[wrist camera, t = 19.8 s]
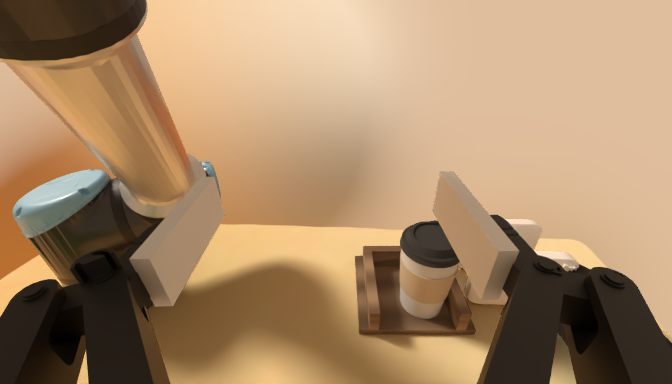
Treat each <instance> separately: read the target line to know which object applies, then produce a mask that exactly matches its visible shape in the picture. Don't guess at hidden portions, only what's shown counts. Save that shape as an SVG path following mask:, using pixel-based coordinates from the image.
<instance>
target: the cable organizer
mask: <svg viewBox="0 0 672 384" xmlns="http://www.w3.org/2000/svg"><path fill="white" fill-rule="evenodd" d="M505 220H506V221H508V222H509V224H510V225H511V226H512V227H513V228H514V230H516V231H517V232H518V234H519V236H521V237H522V238H523V239H524V240H525V241H526V242H527V244H528V245H529V246H530V247H531V248H532V249H533V250H534V248H535V246H536V244H537V242H538V240H539V237H540V235H541V232H542V228H541V227H540V226H539V225H538V224H537V223H536V222H535V221H533V220H524V219H505ZM535 252H536V254H537V255H540V256H544V257H548V258H550V259H552V260H554V261H556V262H557V263H558V264H560V265H561V266H562V267H563V268H564V270H565V271H569V270H570V271H572V270H575V271H576V270H577V268H579V264H578V262H577V261H576V260H575V259H574V258H573V257H572V256H571V255H570V254H568V253H566V252H556V251H535ZM458 267H460V268H463V266H462V264H461V262H459V264H458ZM465 293H466V295H467V298H468V300H469V301H471V302H473V303H477V304H497V305H505V304H506V302H507V299H508V297H507V295H506V293H505V292H504V290H503V291H502V293H501V295H500V298H499V300H481V299H480V298H479V296H478V294H477V292H476V290H475V288H474V287H473V285H472V283H471V281H470V279H469V277H468V280H467V283H466V286H465Z"/></svg>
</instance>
